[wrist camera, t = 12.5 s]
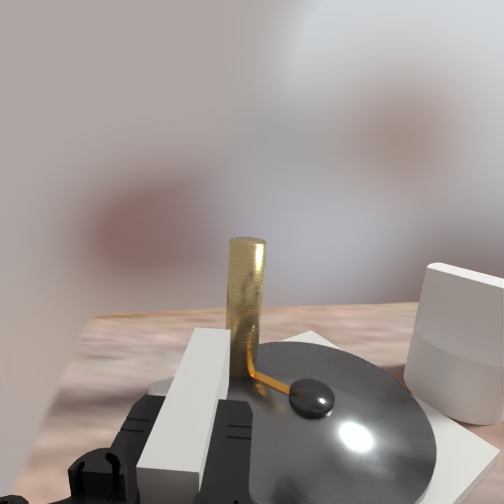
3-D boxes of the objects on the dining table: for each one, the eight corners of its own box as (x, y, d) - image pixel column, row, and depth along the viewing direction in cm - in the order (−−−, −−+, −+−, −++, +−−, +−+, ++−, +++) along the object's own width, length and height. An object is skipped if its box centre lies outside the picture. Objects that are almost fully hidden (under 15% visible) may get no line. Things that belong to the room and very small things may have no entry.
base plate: (310, 339, 40) (313, 315, 40) (496, 463, 25) (507, 429, 24) (148, 396, 29) (147, 365, 28) (298, 686, 14) (307, 637, 13)
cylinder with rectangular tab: (387, 383, 33) (410, 271, 30) (424, 353, 39) (447, 257, 36) (491, 442, 27) (535, 308, 23) (518, 396, 32) (556, 283, 29)
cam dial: (443, 399, 29) (480, 259, 26) (410, 623, 15) (485, 373, 11) (270, 332, 39) (280, 223, 35) (146, 429, 24) (140, 260, 20)
